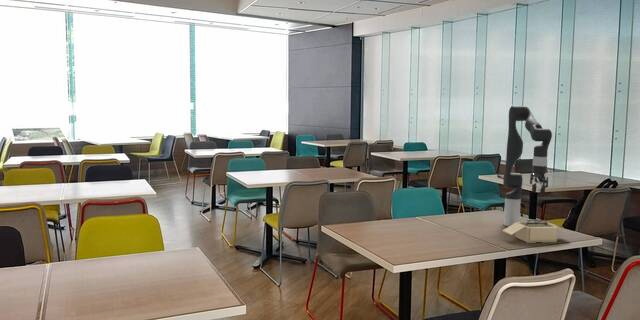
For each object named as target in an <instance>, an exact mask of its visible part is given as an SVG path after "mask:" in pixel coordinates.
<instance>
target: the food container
mask: <svg viewBox="0 0 640 320" xmlns="http://www.w3.org/2000/svg"><path fill="white" fill-rule="evenodd" d="M525 222H526V223H525V225H527V227H547V225H548V224H549V223H548V221H547V220H542V219H527V220H526V221H525Z"/></svg>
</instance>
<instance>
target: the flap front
mask: <svg viewBox="0 0 640 320" xmlns="http://www.w3.org/2000/svg"><path fill="white" fill-rule="evenodd" d="M524 227H525V226H523V225H521V224H519V223H516V222H515V223H514V224H512V225H511V226H506V228H504V229H503V230H502V232H503V233H506V234H508V235H511V236H513V235H514V234H516V232H517V231H519V230H521V229H522V228H524Z"/></svg>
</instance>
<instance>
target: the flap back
mask: <svg viewBox="0 0 640 320" xmlns="http://www.w3.org/2000/svg"><path fill="white" fill-rule="evenodd" d="M547 223H548V224H551V225H554V226H556V227H558V229H557V230H559V231H562V232H564V233H567V234H570V235H571V233H570V232H569V231H567V230H565V229H564V228H562V227H561V226H559V225H557V224H554V223H552V222H549V221H547Z"/></svg>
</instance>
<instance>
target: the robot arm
mask: <svg viewBox="0 0 640 320" xmlns="http://www.w3.org/2000/svg"><path fill="white" fill-rule="evenodd" d="M517 122H525V123H524V127H525V129H526V130H527V132H528V133H529V134H530V138H531V140H532V141H534V142H541V144H539V145H536V146H534V147H533V157H532V169H531V171H532V172H531V173H530V177H529V184H530V185H531V186H532V187H531V188H532V189H531V193H537V185H539V186H540V192H539V194H540V196H545V195H546V188H547V189H548V187H549V176H546V174H547V173H548V151H549V146H550V143H551V141H552V137H553V132H552V131H551V130H550V129H549V128H543V126H542V125H541V124H540V123H539V122H538V121H537V120H536V118H535V117H534V114H533V113H532V112H531V110H530V108H529V107H528V106H526V105H511V106H510V107H509V111H508V132H507V133H508V134H507V142H506V154H505V155H506V156H505V166H504V173H503V178H502V179H503V182H502V183H503V186H504V187H505V188H509V189H510V188H512V189H513V190H511V191H508V192H506V193H505V195H504V209H503V210H504V211H503V225H504V226H505V227H509V226H511V225H512V224H514V223H515V222H521V221H520V217H521V201H522V200H521V199H522V191H523V190H522V187H523V174H522V173H520V172H512V170H513V167H514V165H515V164H516V163H517V161H519V159H520V157H521V156H522V155H523V150H524V149H523V148H524V141H523V139H522V136H521V135H520V133H519V132H518V129H517Z"/></svg>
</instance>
